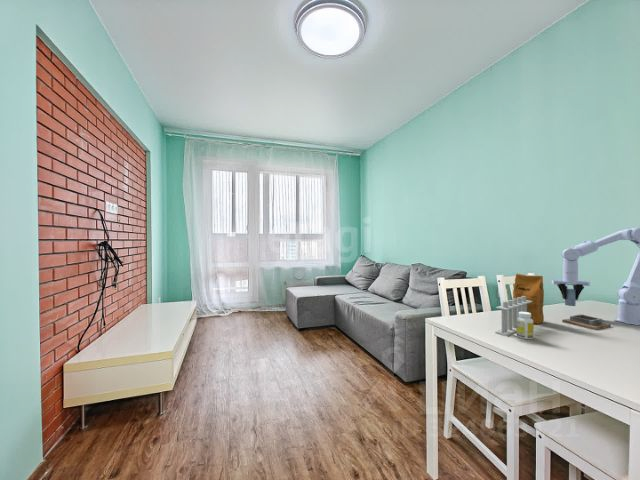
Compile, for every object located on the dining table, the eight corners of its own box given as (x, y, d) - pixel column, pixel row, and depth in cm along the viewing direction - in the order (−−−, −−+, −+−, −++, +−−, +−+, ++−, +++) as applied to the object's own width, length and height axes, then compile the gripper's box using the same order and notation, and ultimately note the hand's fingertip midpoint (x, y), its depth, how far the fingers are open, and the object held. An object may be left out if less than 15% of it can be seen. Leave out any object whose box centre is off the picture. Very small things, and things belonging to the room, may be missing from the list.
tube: (567, 303, 144) (567, 288, 143) (577, 305, 140) (577, 289, 140) (563, 304, 142) (563, 288, 142) (572, 306, 138) (572, 290, 138)
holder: (577, 318, 135) (577, 312, 135) (610, 326, 124) (610, 319, 124) (562, 321, 131) (562, 315, 130) (595, 330, 119) (595, 323, 119)
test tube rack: (506, 336, 113) (507, 304, 113) (495, 333, 117) (495, 301, 116) (532, 325, 127) (532, 296, 126) (521, 322, 130) (521, 294, 130)
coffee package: (516, 315, 142) (517, 272, 141) (547, 321, 131) (547, 274, 131) (508, 318, 136) (508, 273, 136) (538, 325, 126) (539, 276, 125)
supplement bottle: (532, 336, 113) (532, 312, 113) (534, 340, 108) (534, 315, 108) (515, 333, 115) (516, 310, 115) (517, 338, 111) (517, 313, 111)
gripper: (584, 271, 142) (584, 298, 142) (549, 270, 147) (549, 296, 147) (592, 273, 135) (591, 301, 136) (555, 272, 140) (555, 299, 141)
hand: (570, 299), depth 141 cm, fingers closed on tube, 4 cm apart
